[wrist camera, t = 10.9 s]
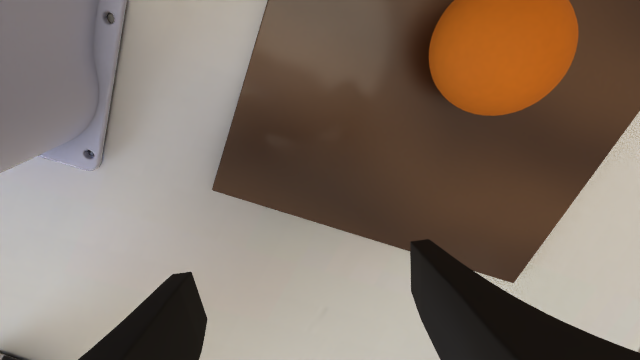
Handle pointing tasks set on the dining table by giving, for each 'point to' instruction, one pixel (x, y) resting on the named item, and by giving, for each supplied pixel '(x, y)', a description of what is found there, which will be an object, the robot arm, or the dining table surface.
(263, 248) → the dining table surface
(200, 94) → the dining table surface
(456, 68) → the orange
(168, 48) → the dining table surface
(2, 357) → the candy box
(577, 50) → the front mat
